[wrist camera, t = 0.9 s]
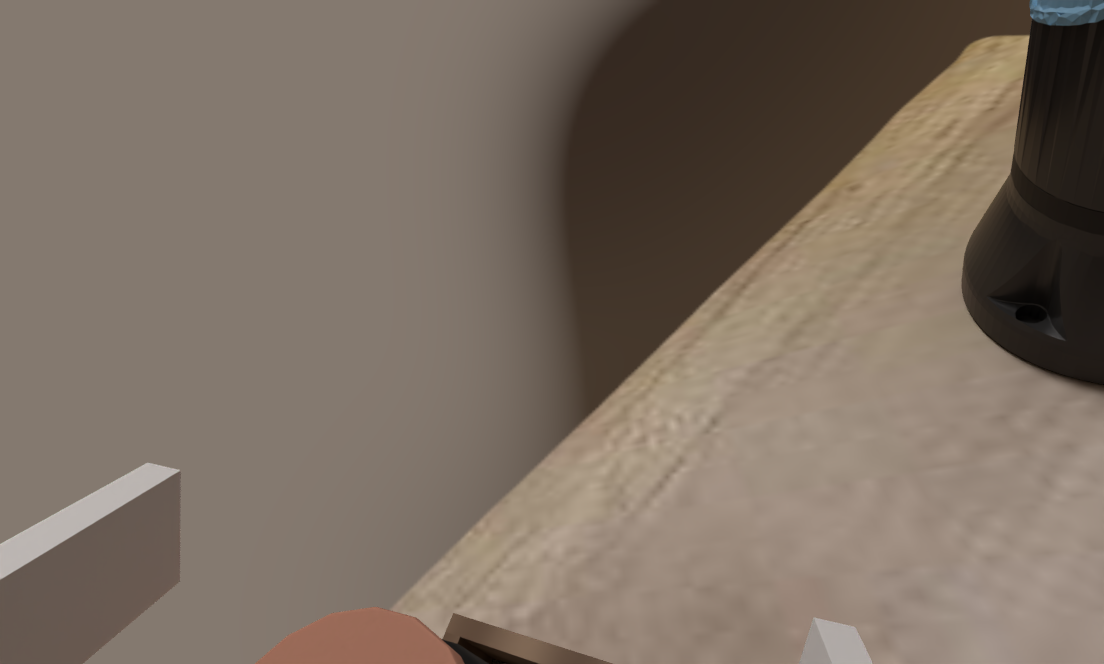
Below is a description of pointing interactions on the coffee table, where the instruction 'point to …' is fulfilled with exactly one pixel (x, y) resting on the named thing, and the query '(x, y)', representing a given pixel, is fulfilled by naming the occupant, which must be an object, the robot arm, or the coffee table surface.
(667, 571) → the coffee table surface
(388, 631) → the coffee jar
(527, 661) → the walnut crate
